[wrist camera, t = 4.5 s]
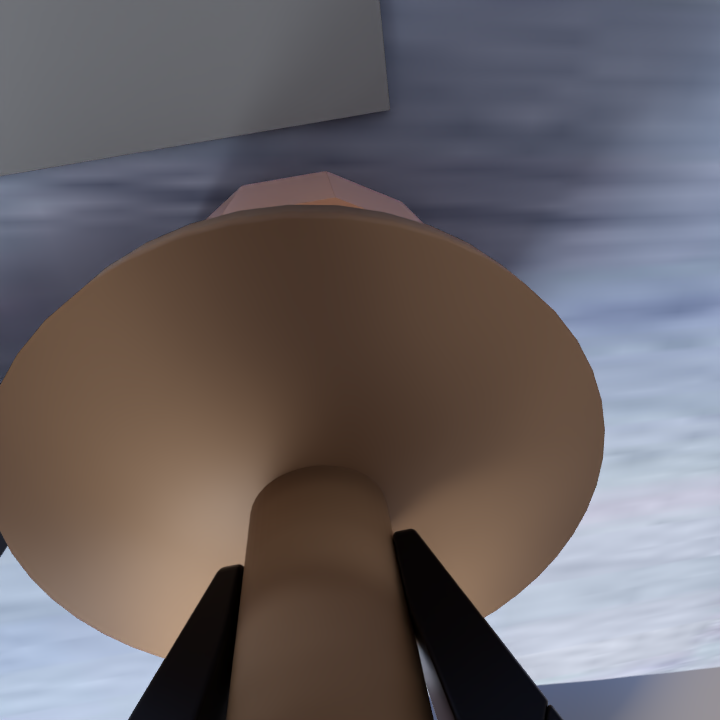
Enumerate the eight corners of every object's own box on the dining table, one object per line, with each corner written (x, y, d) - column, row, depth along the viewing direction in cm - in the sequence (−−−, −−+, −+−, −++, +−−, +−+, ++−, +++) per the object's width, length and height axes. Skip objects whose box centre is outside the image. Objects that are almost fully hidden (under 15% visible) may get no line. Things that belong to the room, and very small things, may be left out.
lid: (157, 671, 13) (65, 1043, 8) (-143, 285, 7) (-1377, 800, 2) (560, 584, 13) (727, 893, 8) (608, 139, 7) (1380, 233, 2)
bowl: (224, 432, 22) (201, 534, 17) (135, 200, 16) (59, 245, 11) (446, 391, 22) (489, 479, 17) (431, 148, 17) (490, 170, 12)
